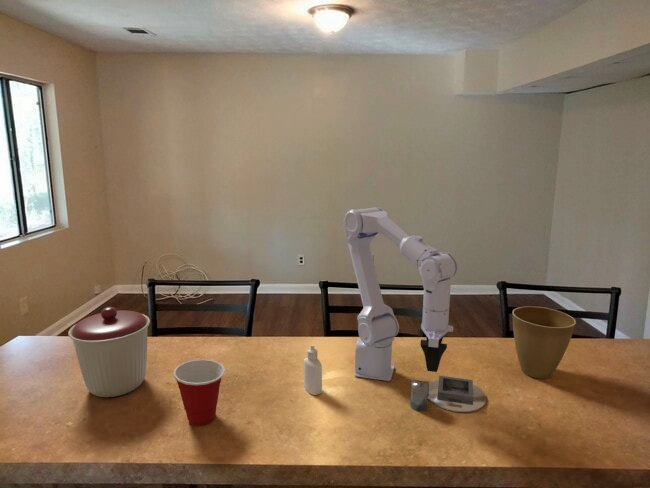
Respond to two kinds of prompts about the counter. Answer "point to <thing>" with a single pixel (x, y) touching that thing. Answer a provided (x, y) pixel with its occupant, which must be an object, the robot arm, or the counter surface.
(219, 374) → the plastic cup
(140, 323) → the canister
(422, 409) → the shaft
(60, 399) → the counter surface
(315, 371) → the eye dropper bottle
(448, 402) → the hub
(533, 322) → the plant pot
